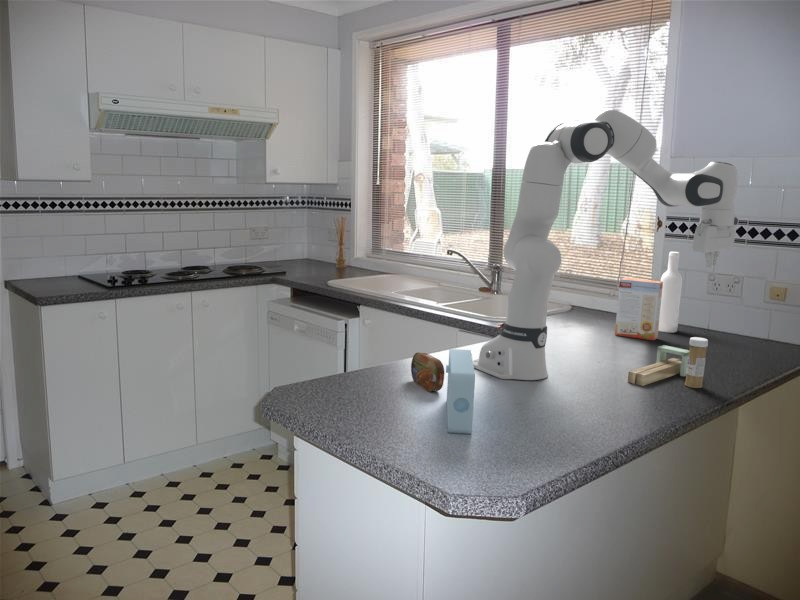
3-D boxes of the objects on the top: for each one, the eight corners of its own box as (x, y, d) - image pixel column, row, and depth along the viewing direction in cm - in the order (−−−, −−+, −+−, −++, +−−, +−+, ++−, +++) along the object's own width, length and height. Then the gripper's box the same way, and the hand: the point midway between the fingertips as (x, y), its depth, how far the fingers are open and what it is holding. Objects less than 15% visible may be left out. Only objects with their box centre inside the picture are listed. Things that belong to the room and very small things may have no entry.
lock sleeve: (655, 369, 205) (657, 346, 203) (661, 367, 207) (664, 345, 206) (683, 376, 198) (685, 352, 197) (689, 374, 201) (692, 351, 200)
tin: (409, 379, 185) (410, 348, 183) (420, 378, 186) (421, 348, 185) (434, 396, 171) (435, 363, 170) (445, 395, 172) (447, 362, 171)
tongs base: (627, 382, 190) (628, 371, 190) (673, 367, 209) (674, 357, 208) (637, 384, 188) (638, 374, 188) (682, 369, 206) (683, 359, 206)
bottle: (656, 331, 260) (664, 252, 255) (653, 327, 267) (661, 250, 262) (678, 333, 258) (687, 253, 253) (675, 329, 266) (684, 251, 261)
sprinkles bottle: (681, 383, 191) (686, 336, 189) (697, 383, 192) (702, 336, 189) (689, 388, 187) (695, 340, 184) (705, 388, 187) (711, 340, 185)
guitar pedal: (443, 400, 169) (446, 347, 166) (467, 401, 168) (470, 348, 166) (443, 434, 146) (447, 373, 143) (471, 436, 145) (475, 375, 143)
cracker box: (657, 338, 248) (664, 281, 245) (654, 341, 243) (660, 282, 240) (618, 332, 256) (624, 276, 252) (614, 335, 250) (619, 278, 247)
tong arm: (636, 384, 189) (637, 373, 188) (677, 370, 205) (678, 360, 205) (643, 385, 187) (644, 375, 187) (684, 371, 204) (685, 361, 203)
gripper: (711, 220, 191) (706, 269, 193) (741, 219, 205) (735, 265, 207) (689, 218, 196) (684, 267, 198) (719, 218, 209) (714, 263, 212)
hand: (710, 266), depth 203 cm, fingers closed
